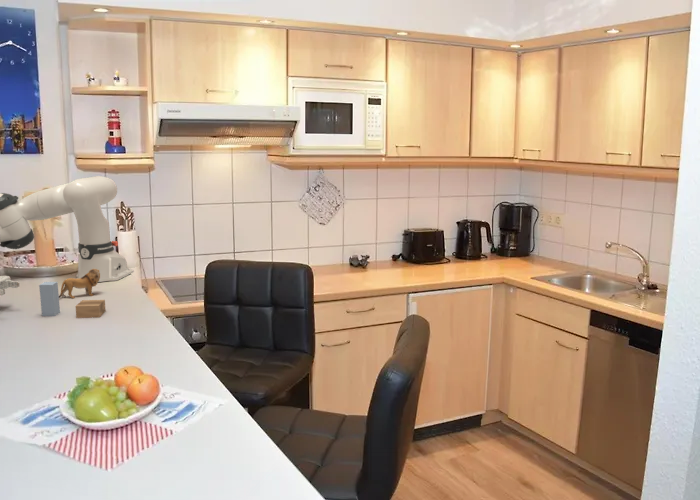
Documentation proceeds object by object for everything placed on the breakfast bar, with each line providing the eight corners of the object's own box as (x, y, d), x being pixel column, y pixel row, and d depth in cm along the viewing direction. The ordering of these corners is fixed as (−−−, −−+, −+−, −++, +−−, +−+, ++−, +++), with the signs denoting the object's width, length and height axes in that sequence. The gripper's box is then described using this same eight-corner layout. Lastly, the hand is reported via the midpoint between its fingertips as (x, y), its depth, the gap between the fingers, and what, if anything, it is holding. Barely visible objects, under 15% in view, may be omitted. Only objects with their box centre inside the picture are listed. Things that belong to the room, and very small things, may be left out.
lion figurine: (98, 291, 235) (96, 266, 233) (104, 294, 231) (102, 269, 229) (55, 298, 226) (53, 272, 224) (60, 301, 222) (58, 275, 220)
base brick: (83, 312, 210) (82, 300, 209) (105, 311, 211) (104, 299, 210) (76, 318, 203) (75, 306, 202) (99, 318, 204) (98, 305, 203)
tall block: (47, 312, 209) (44, 281, 207) (60, 312, 209) (57, 281, 207) (41, 316, 205) (39, 284, 203) (54, 316, 205) (52, 284, 203)
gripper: (-15, 289, 215) (27, 289, 215) (-52, 306, 195) (-5, 306, 195) (-17, 271, 214) (25, 271, 214) (-54, 286, 194) (-7, 286, 194)
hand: (11, 288), depth 205 cm, fingers open, 8 cm apart
